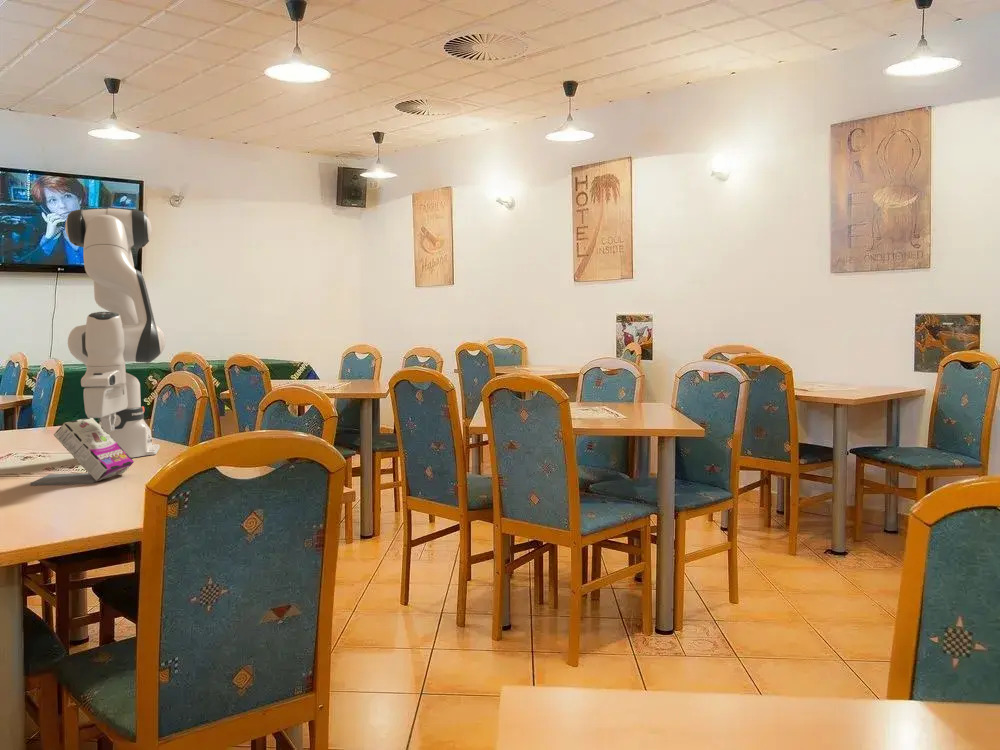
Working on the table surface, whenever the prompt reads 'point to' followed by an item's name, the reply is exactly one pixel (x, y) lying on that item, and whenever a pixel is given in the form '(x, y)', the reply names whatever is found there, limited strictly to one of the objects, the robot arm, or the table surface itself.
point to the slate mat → (65, 479)
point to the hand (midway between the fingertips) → (108, 431)
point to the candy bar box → (93, 448)
